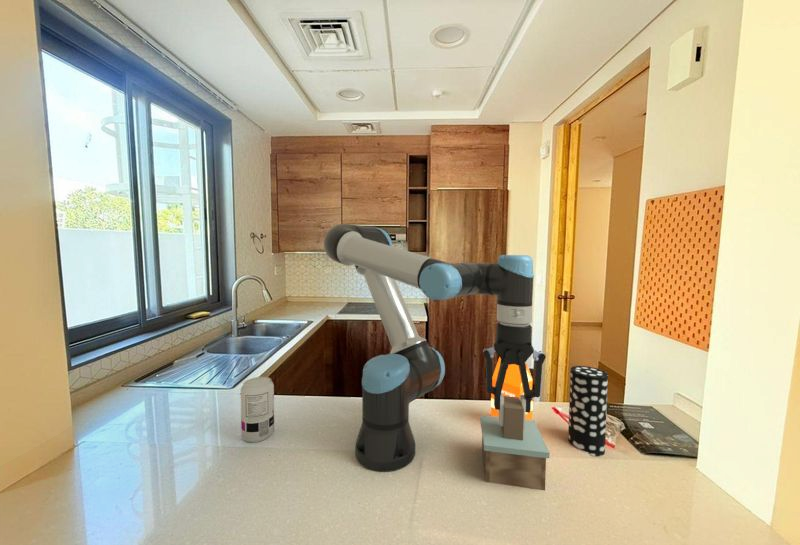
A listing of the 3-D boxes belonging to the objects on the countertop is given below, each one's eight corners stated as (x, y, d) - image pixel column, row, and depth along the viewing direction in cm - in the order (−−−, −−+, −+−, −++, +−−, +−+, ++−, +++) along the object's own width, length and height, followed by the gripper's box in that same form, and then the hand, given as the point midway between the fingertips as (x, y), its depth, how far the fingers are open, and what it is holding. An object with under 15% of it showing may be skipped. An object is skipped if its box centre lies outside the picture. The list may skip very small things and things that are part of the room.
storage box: (485, 485, 67) (486, 449, 67) (481, 451, 79) (482, 420, 79) (544, 493, 65) (546, 456, 65) (532, 457, 77) (533, 426, 76)
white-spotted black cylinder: (610, 458, 77) (614, 378, 76) (574, 453, 79) (576, 375, 78) (596, 439, 85) (599, 367, 84) (563, 435, 87) (566, 364, 86)
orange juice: (518, 440, 84) (520, 367, 83) (490, 426, 91) (491, 359, 90) (532, 430, 89) (534, 361, 88) (504, 418, 96) (505, 354, 95)
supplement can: (234, 439, 83) (233, 384, 83) (259, 424, 91) (258, 374, 90) (257, 447, 80) (256, 389, 80) (280, 430, 88) (280, 378, 87)
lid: (484, 450, 67) (484, 413, 66) (480, 419, 79) (481, 388, 79) (549, 458, 64) (550, 419, 64) (534, 425, 77) (535, 392, 76)
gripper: (476, 324, 68) (474, 428, 70) (559, 328, 65) (556, 437, 66) (474, 318, 76) (472, 412, 77) (549, 321, 73) (546, 419, 74)
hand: (511, 423), depth 72 cm, fingers closed on lid, 4 cm apart
